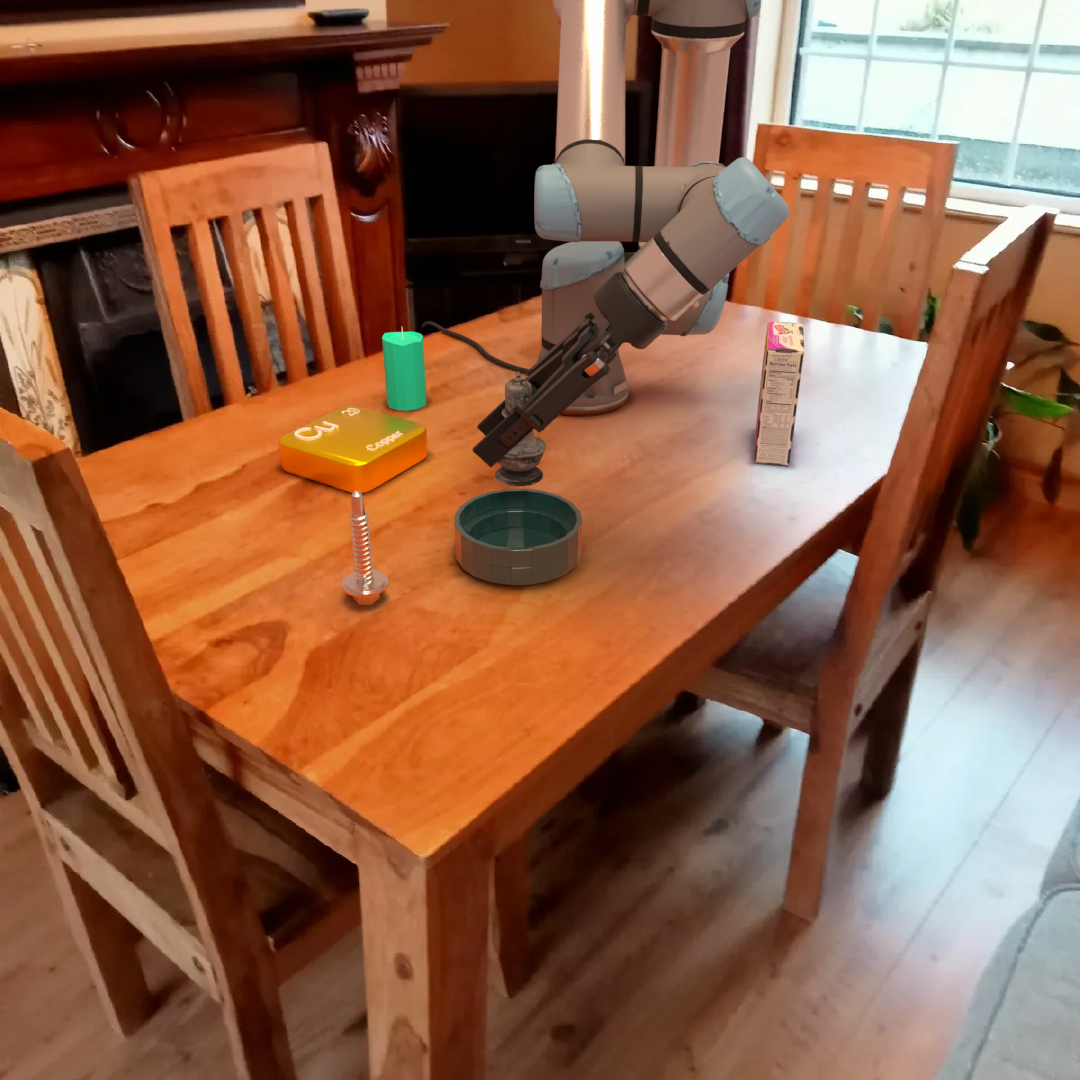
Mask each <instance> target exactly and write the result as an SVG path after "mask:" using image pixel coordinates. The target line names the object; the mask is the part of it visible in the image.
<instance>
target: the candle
mask: <svg viewBox="0 0 1080 1080" xmlns="http://www.w3.org/2000/svg"><path fill="white" fill-rule="evenodd" d="M400 327H401V331H391V332H384V334H383V335H382V337H381V340H382V341H381V342H382V343H381V344H382V354H383V355H382V356H383V367H384V382H385V395H386V403H387V404H386V405H387V406H388V408H390V409H392V410H396V411H403V412H404V411H405V412H407V411H414V410H415V411H416V410H419V409H422V408H423V407H425V406H426V404H427V401H428V400H427V399H428V398H427V385H426V384H427V381H426V380H427V379H426V363H425V347H424V335H423V334H422V333H420V332H416V331H404V328H403V326H400Z"/></svg>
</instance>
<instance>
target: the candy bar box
mask: <svg viewBox="0 0 1080 1080" xmlns="http://www.w3.org/2000/svg"><path fill="white" fill-rule="evenodd" d="M804 333H805V332H804V324H803V323H795V322H786V321H785V322H784V321H781V322H780V321H768V322H767V325H766V334H765V341H764V347H763V357H762V367H761V375H760V383H759V392H758V401H757V402H758V403H757V411H756V412H757V413H756V421H755V423H756V424H755V436H754V438H755V439H754V463H755V464H761V465H772V466H786V467H788V466H790V463H791V454H792V446H793V440H794V434H795V433H794V432H795V425H796V418H797V417H796V416H797V410H798V401H799V393H800V386H801V379H802V369H803V363H804V355H805V335H804Z"/></svg>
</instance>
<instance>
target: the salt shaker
mask: <svg viewBox="0 0 1080 1080" xmlns="http://www.w3.org/2000/svg"><path fill="white" fill-rule="evenodd" d="M514 376H515V377H514V378H511V379H509V380H508V381H507V382H505V385H504V400H505V409H504V410H502V415H503V416H504V417H505V418H506V417H507V416H508V415H509V414H510V413H511V412H512V411H513V409H512V407H513V406H514V404H515V403H516V404H517V405H518V406H519V407H522V406H523V405H524V404H525V403H526V402H527V401H528V400H529V399H530V398H531V397H532V387H531V384H530V383H529V381H527V380H525V378H523V377H521V376H522V373H521V372H520V371H516V372H515V373H514ZM546 449H547V444H546V442H545V440H543V439H542V438H540V437H538V436H535V433H534V429H533V430H532V431H531V432H530V433H529V434H528V435H527V436H525V437H524V438H523V439H522V440H521V441H520V442H519V443H518V444H517V445H516V446H514V447H513V448H512V449H511V450H510V451H509V452H508V453H507V454H506V455H505V456H503V457H502V458H501V459H500V460H499V461H498V462H497V463H498V464H499V466H501V467H499V468H498V469H497V470H495V473H494V477H495V479H496V481H497V482H499V483H500V484H503V485H505V486H510V487H528V486H533V485H536V484H537V483H539V482H541V481H542V480H543V478H544V476H545V475H544V472H543V470H542V469H541V468H540V467H538V465H539V464H541V461H542V459H543V456H544V452H545V451H546Z"/></svg>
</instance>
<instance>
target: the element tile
mask: <svg viewBox="0 0 1080 1080" xmlns="http://www.w3.org/2000/svg"><path fill="white" fill-rule="evenodd" d="M427 434H428V433H427V427H426V426H425V425H423V424H422V423H419V422H415V421H412V420H409V419H405V418H401V417H398V416H393V415H390V414H387V413H383V412H380V411H375V410H372V409H369V408H364V407H361V406H357V405H351V404H348V405H344V406H341V407H339V408H337V409H335V410H333V411H331V412H328V413H326V414H324V415H322V416H320V417H317V418H316V419H314V420H312V421H310V422H308V423H305V424H304V425H302V426H300V427H297V428H295V429H294V430H291V431H290V432H287V433H285V434H283V435H281V436H280V437H279V439H278V448H279V449H278V450H279V457H280V463H281V468H282V470H283V471H285V472H287V473H289V474H292V475H296V476H298V477H302V478H304V479H307V480H310V481H314V482H316V483H319V484H322V485H326V486H328V487H332V488H335V489H338V490H341V491H344V492H347V493H351V494H352V493H353V492H354V491H356V490H358V491H361V492H362V494H365V493H368V492H371V491H374V489H377V488H378V487H380V486H381V485H383V484H385V483H386V482H389V481H390V480H392V479H393V478H395V477H397V476H398V475H400V474H402V473H404V472H405V471H407V470H409V469H410V468H412V467H414V466H415V465H417V464H418V463H420V462H422V461H423V460H425V459H426V458H427V456H428V453H429V452H428V451H429V450H428V435H427Z"/></svg>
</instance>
